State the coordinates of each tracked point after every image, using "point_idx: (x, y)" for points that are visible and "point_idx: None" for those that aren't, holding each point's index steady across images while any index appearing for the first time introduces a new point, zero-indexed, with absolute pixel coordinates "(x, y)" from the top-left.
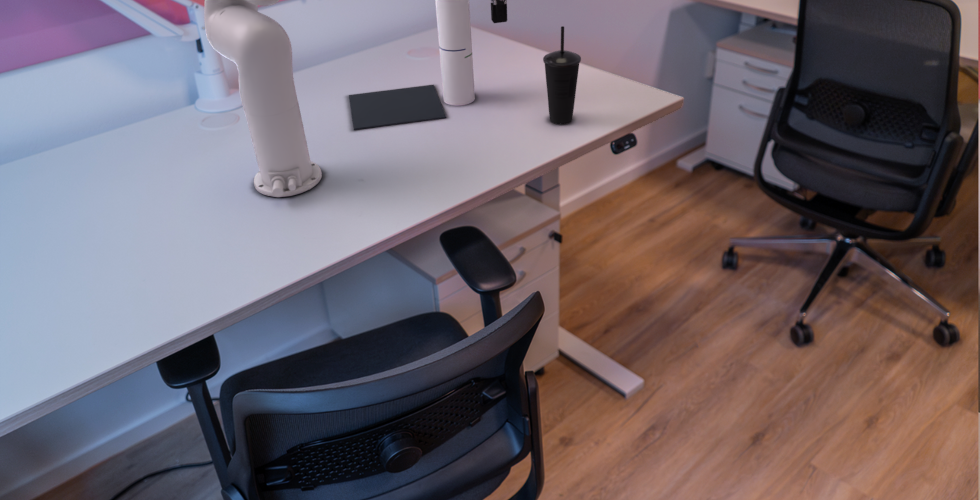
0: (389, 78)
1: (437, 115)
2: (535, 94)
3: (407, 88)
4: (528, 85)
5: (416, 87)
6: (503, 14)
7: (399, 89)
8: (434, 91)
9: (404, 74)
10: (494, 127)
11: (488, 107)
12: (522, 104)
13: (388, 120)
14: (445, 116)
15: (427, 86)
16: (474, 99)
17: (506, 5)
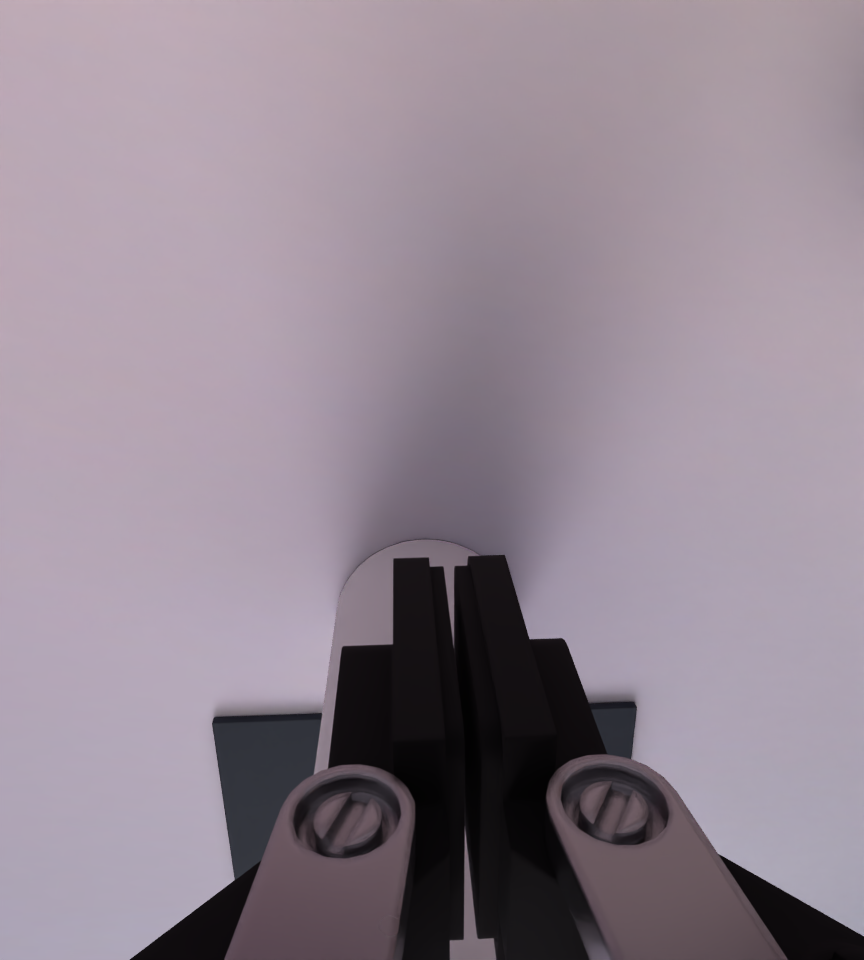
0: (65, 892)
1: (611, 741)
2: (500, 155)
3: (238, 836)
4: (333, 164)
5: (234, 800)
6: (578, 681)
7: (241, 867)
8: (310, 728)
9: (17, 830)
10: (840, 503)
11: (587, 489)
12: (622, 285)
13: None
14: (635, 710)
15: (233, 753)
16: (459, 545)
17: (544, 708)
